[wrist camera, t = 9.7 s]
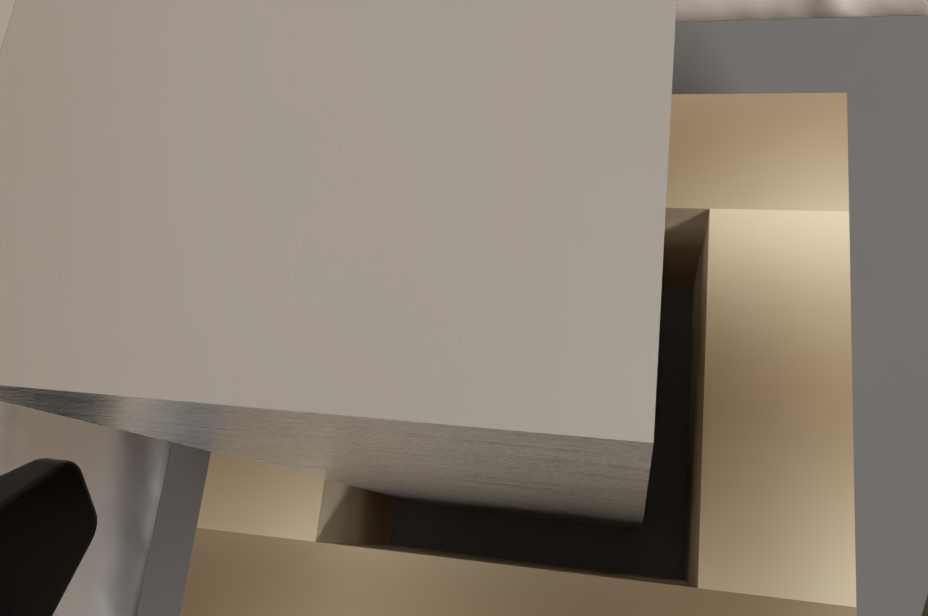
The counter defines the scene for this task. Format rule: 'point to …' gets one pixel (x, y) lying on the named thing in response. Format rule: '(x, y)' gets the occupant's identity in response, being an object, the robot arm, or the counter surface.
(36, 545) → the robot arm
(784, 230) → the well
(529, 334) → the steel bar
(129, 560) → the counter surface
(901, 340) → the mat
